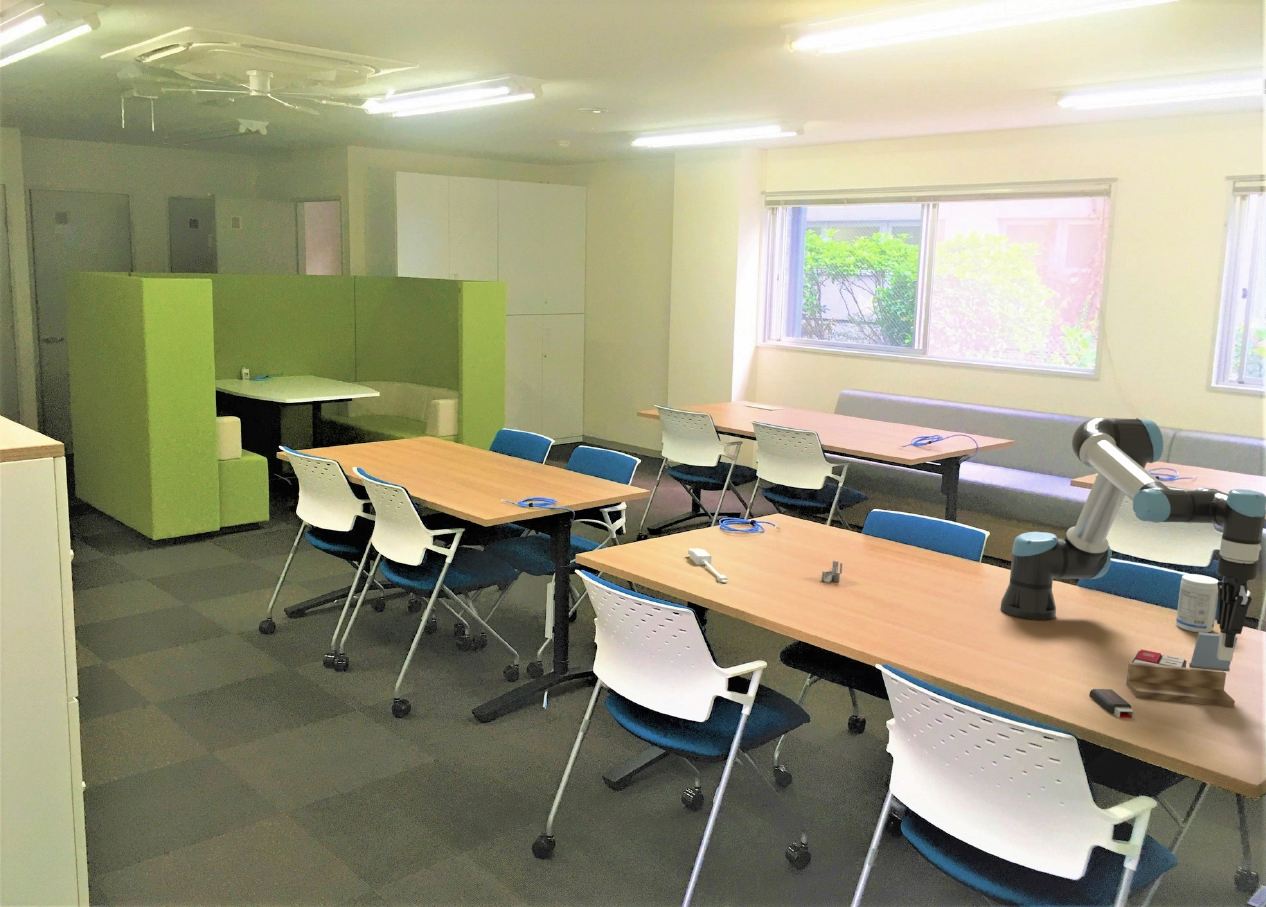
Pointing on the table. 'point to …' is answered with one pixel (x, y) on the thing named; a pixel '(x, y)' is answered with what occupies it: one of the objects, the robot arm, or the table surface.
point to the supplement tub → (1197, 603)
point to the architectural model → (832, 573)
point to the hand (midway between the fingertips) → (1224, 659)
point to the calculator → (1158, 659)
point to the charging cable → (705, 562)
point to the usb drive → (1112, 702)
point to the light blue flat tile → (1208, 653)
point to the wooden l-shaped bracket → (1178, 684)
